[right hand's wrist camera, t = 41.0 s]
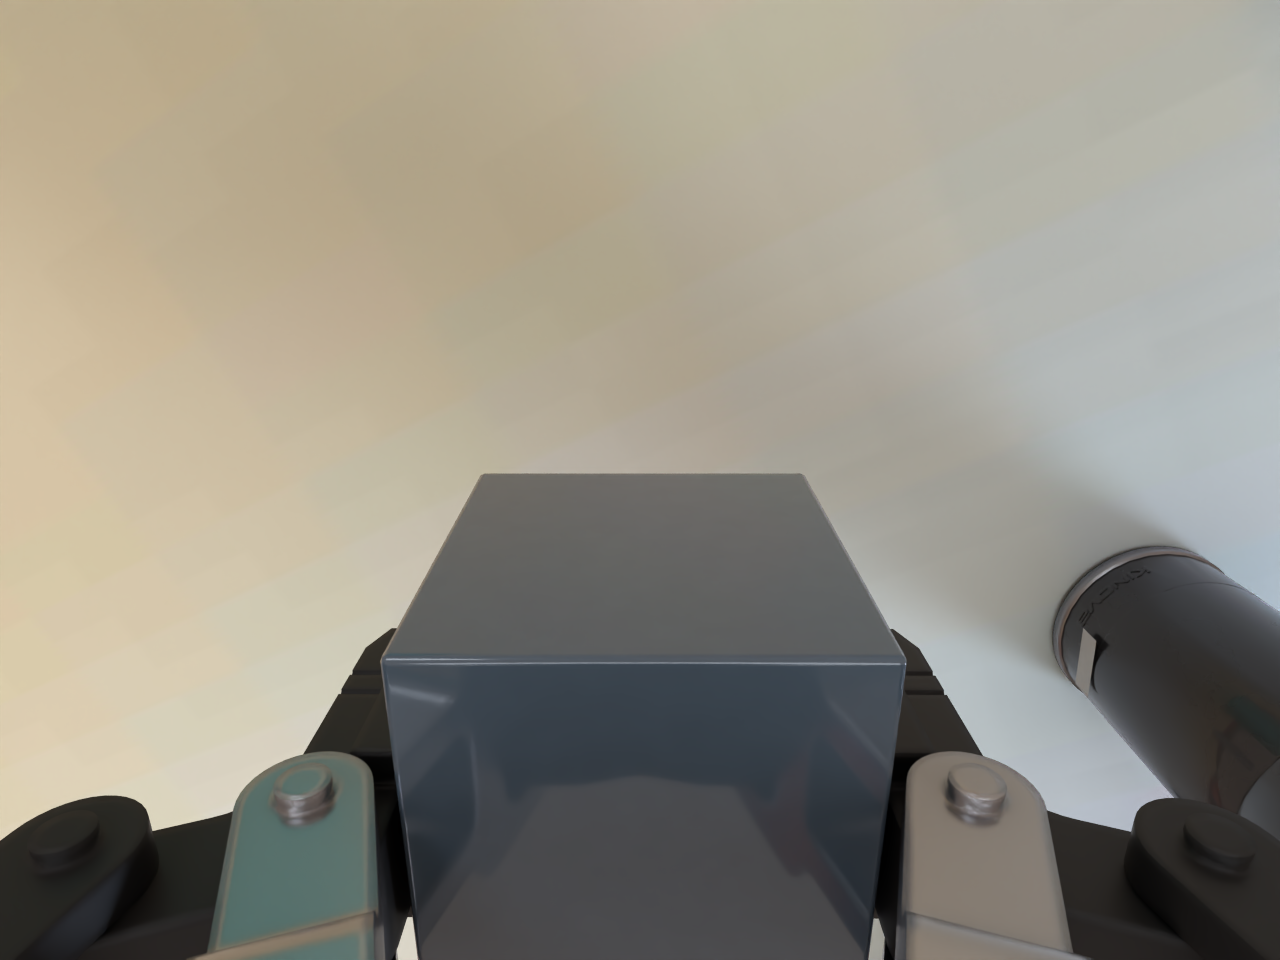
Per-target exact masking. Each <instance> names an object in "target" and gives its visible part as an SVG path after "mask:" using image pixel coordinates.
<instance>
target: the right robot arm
mask: <svg viewBox="0 0 1280 960" xmlns="http://www.w3.org/2000/svg"><path fill="white" fill-rule="evenodd" d="M396 629H397V628H392V629H390V630H389V631H388V632H386V633H385V634H384V635H382V636H381V637H380V638H378V639H377V640H376V641H374V642H373V643H372V644H370V645H369V646H368V647H366V648H365V650H364V652H363V653H362V655H361V657H360V659H359V660H358V662H357V664H356V665H355V667H354V669H353V673H352V675H350V676H349V677H348V679H347V681H346V682H345V684H344V686H343V688H342V692H341V694H338V696H337V698H336V699H335V701H334V703H333V705H332V706H331V708H330V710H329V711H328V713H327V715H326V717H325V718H324V720H323V722H322V723H321V725H320V727H319V728H318V730H317V732H316V734H315V735H314V737H313V739H312V740H311V742H310V744H309V746H308V747H307V749H306V751H305V752H304V754H303V755H299V756H296V757H293V758H290V759H287V760H284V761H282V762H280V763H278V764H276V765H274V766H272V767H270V768H268V769H267V770H265V771H263V772H262V773H261V774H259V775H258V776H257V777H255V778H254V779H253V780H252V781H251V782H250V783H249V784H248V785H247V786H246V787H245V788H244V789H243V791H242V792H241V793H240V795H239V797H238V798H237V800H236V803H235V806H234V809H233V812H230V813H227V814H224V815H220V816H217V817H213V818H209V819H204V820H200V821H196V822H191V823H187V824H182V825H178V826H173V827H169V828H165V829H160V830H156V831H152V828H151V824H150V820H149V816H148V813H147V811H146V809H145V808H144V806H143V805H142V804H141V803H139V802H137V801H136V800H134V799H131V798H128V797H122V796H97V797H90V798H85V799H81V800H77V801H73V802H70V803H67V804H64V805H61V806H59V807H56V808H53V809H51V810H49V811H47V812H45V813H43V814H40V815H38V816H37V817H35V818H33V819H31V820H30V821H28V822H26V823H24V824H23V825H22V826H20V827H19V828H17V829H16V830H14V831H13V832H11V833H10V834H9V835H7V836H6V837H5V838H3V839H2V840H1V841H0V960H398V955H397V947H398V945H399V942H400V938H401V935H402V932H403V929H404V926H405V922H406V919H407V917H412V909H411V901H410V893H409V885H408V877H407V869H406V861H405V853H404V845H403V838H402V830H401V822H400V814H399V806H398V798H397V790H396V782H395V774H394V766H393V759H392V751H391V743H390V735H389V727H388V719H387V711H386V703H385V695H384V687H383V680H382V672H381V664H380V661H381V658H382V655H383V653H384V651H385V650H386V648H387V646H388V644H389V642H390V640H391V639H392V637H393V635H394V633H395V631H396ZM890 630H891V632H892V634H893V635H894V637H895V639H896V641H897V643H898V644H899V646H900V648H901V650H902V652H903V653H904V655H905V658H906V661H907V664H906V672H905V680H904V688H903V695H902V703H901V711H900V718H899V726H898V734H897V742H896V749H895V757H894V765H893V773H892V780H891V788H890V796H889V803H888V811H887V819H886V827H885V834H884V842H883V850H882V857H881V865H880V873H879V881H878V888H877V896H876V904H875V912H874V918H879V921H880V924H881V927H882V930H883V933H884V936H885V941H884V948H883V956H882V960H1280V612H1279V611H1277V610H1276V609H1274V608H1273V607H1271V606H1270V605H1268V604H1267V603H1265V602H1264V601H1262V600H1261V599H1260V598H1258V597H1257V596H1256V595H1254V594H1253V593H1251V592H1250V591H1248V590H1247V589H1245V588H1244V587H1242V586H1241V585H1239V584H1238V583H1236V582H1235V581H1233V580H1232V579H1230V578H1229V577H1227V576H1226V575H1225V574H1224V573H1223V572H1222V571H1221V570H1220V569H1219V568H1217V567H1216V566H1215V565H1213V564H1212V563H1210V562H1209V561H1207V560H1206V559H1204V558H1203V557H1201V556H1199V555H1197V554H1195V553H1192V552H1190V551H1187V550H1183V549H1179V548H1174V547H1147V548H1141V549H1136V550H1133V551H1129V552H1126V553H1123V554H1120V555H1118V556H1116V557H1113V558H1111V559H1109V560H1107V561H1106V562H1104V563H1102V564H1100V565H1099V566H1097V567H1096V568H1094V569H1093V570H1092V571H1090V572H1089V573H1088V574H1087V575H1086V576H1084V577H1083V578H1082V579H1081V580H1080V581H1079V582H1078V583H1077V584H1076V585H1075V587H1074V588H1073V589H1072V590H1071V592H1070V593H1069V594H1068V596H1067V597H1066V599H1065V600H1064V602H1063V604H1062V606H1061V608H1060V610H1059V612H1058V615H1057V618H1056V621H1055V626H1054V632H1053V646H1054V652H1055V656H1056V659H1057V662H1058V664H1059V666H1060V668H1061V669H1062V671H1063V672H1064V674H1065V675H1066V676H1067V677H1068V679H1069V680H1070V681H1071V682H1072V683H1073V684H1074V685H1075V686H1076V687H1077V688H1078V689H1079V690H1080V691H1081V692H1083V693H1084V694H1085V695H1086V697H1087V698H1088V699H1089V700H1090V701H1091V702H1092V703H1093V705H1094V706H1095V707H1096V708H1097V709H1098V710H1099V712H1100V713H1101V714H1102V715H1103V716H1104V718H1105V719H1106V720H1107V721H1108V722H1109V724H1110V725H1111V726H1112V727H1113V728H1114V729H1115V730H1116V732H1117V733H1118V734H1119V735H1120V736H1121V737H1122V738H1123V740H1124V741H1125V742H1126V743H1127V744H1128V745H1129V746H1130V748H1131V749H1132V750H1133V751H1134V752H1135V753H1136V755H1137V756H1138V757H1139V758H1140V759H1141V760H1142V761H1143V763H1144V764H1145V765H1146V766H1147V767H1148V768H1149V769H1150V771H1151V772H1152V773H1153V774H1154V775H1155V776H1156V777H1157V779H1158V780H1159V781H1160V782H1161V783H1162V784H1163V786H1164V787H1165V788H1166V789H1167V790H1168V791H1169V792H1170V794H1171V795H1172V796H1173V797H1174V798H1164V799H1157V800H1154V801H1151V802H1148V803H1146V804H1145V805H1143V806H1142V807H1141V808H1140V809H1139V810H1138V811H1137V813H1136V816H1135V819H1134V823H1133V827H1132V831H1131V832H1129V831H1125V830H1120V829H1116V828H1111V827H1107V826H1103V825H1098V824H1094V823H1089V822H1085V821H1080V820H1076V819H1072V818H1069V817H1065V816H1061V815H1058V814H1056V813H1053V812H1050V811H1047V809H1046V806H1045V803H1044V800H1043V798H1042V797H1041V795H1040V793H1039V792H1038V791H1037V789H1036V788H1035V787H1034V786H1033V785H1032V784H1031V783H1030V782H1029V781H1028V780H1027V779H1026V778H1025V777H1023V776H1022V775H1021V774H1019V773H1018V772H1017V771H1015V770H1013V769H1012V768H1010V767H1008V766H1006V765H1004V764H1002V763H1000V762H998V761H996V760H993V759H990V758H987V757H984V756H983V755H982V753H981V752H980V750H979V748H978V747H977V745H976V743H975V742H974V740H973V738H972V737H971V735H970V733H969V732H968V730H967V728H966V727H965V725H964V723H963V722H962V720H961V718H960V716H959V715H958V713H957V711H956V710H955V708H954V706H953V705H952V703H951V701H950V700H949V698H948V696H947V695H944V690H943V688H942V686H941V685H940V683H939V681H938V680H937V678H936V676H933V671H932V669H931V668H930V666H929V664H928V663H927V661H926V659H925V658H924V656H923V654H922V653H921V651H920V649H919V648H918V647H916V646H915V645H914V644H912V643H911V642H910V641H908V640H907V639H906V638H904V637H903V636H902V635H900V634H899V633H898V632H896V631H895V630H894V629H890Z"/></svg>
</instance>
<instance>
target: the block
mask: <svg viewBox="0 0 1280 960" xmlns="http://www.w3.org/2000/svg"><path fill="white" fill-rule="evenodd" d="M380 664H381V672H382V680H383V687H384V695H385V703H386V711H387V719H388V727H389V735H390V743H391V751H392V759H393V766H394V774H395V782H396V790H397V798H398V806H399V814H400V822H401V830H402V838H403V845H404V853H405V861H406V869H407V877H408V885H409V893H410V901H411V909H412V917H413V924H414V932H415V940H416V948H417V956H418V960H868V958H869V950H870V942H871V935H872V927H873V919H874V912H875V904H876V896H877V888H878V881H879V873H880V865H881V857H882V850H883V842H884V834H885V827H886V819H887V811H888V803H889V796H890V788H891V780H892V773H893V765H894V757H895V749H896V742H897V734H898V726H899V718H900V711H901V703H902V695H903V688H904V680H905V672H906V664H907V661H906V658H905V655H904V653H903V652H902V650H901V648H900V646H899V644H898V643H897V641H896V639H895V637H894V635H893V634H892V632H891V630H890V628H889V626H888V625H887V623H886V621H885V619H884V617H883V616H882V614H881V612H880V610H879V608H878V607H877V605H876V603H875V601H874V600H873V598H872V596H871V594H870V592H869V591H868V589H867V587H866V585H865V583H864V582H863V580H862V578H861V576H860V574H859V573H858V571H857V569H856V567H855V565H854V564H853V562H852V560H851V558H850V556H849V555H848V553H847V551H846V549H845V547H844V546H843V544H842V542H841V540H840V538H839V537H838V535H837V533H836V531H835V529H834V528H833V526H832V524H831V522H830V521H829V519H828V517H827V515H826V513H825V512H824V510H823V508H822V506H821V504H820V503H819V501H818V499H817V497H816V495H815V494H814V492H813V490H812V488H811V486H810V485H809V483H808V481H807V479H806V477H805V476H804V475H802V474H483V475H481V476H480V478H479V479H478V481H477V483H476V485H475V487H474V489H473V490H472V492H471V494H470V496H469V498H468V499H467V501H466V503H465V505H464V507H463V509H462V510H461V512H460V514H459V516H458V518H457V520H456V521H455V523H454V525H453V527H452V529H451V531H450V532H449V534H448V536H447V538H446V540H445V542H444V543H443V545H442V547H441V549H440V551H439V553H438V554H437V556H436V558H435V560H434V562H433V564H432V565H431V567H430V569H429V571H428V573H427V575H426V576H425V578H424V580H423V582H422V584H421V586H420V587H419V589H418V591H417V593H416V595H415V597H414V598H413V600H412V602H411V604H410V606H409V607H408V609H407V611H406V613H405V615H404V617H403V618H402V620H401V622H400V624H399V626H398V628H397V629H396V631H395V633H394V635H393V637H392V639H391V640H390V642H389V644H388V646H387V648H386V650H385V651H384V653H383V655H382V658H381V661H380Z"/></svg>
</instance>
